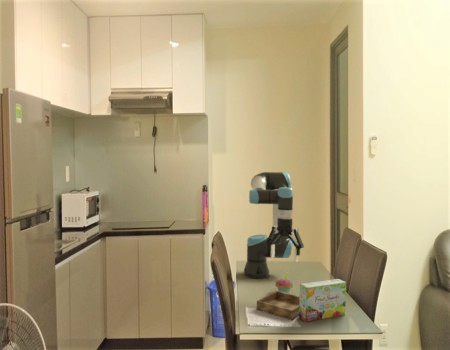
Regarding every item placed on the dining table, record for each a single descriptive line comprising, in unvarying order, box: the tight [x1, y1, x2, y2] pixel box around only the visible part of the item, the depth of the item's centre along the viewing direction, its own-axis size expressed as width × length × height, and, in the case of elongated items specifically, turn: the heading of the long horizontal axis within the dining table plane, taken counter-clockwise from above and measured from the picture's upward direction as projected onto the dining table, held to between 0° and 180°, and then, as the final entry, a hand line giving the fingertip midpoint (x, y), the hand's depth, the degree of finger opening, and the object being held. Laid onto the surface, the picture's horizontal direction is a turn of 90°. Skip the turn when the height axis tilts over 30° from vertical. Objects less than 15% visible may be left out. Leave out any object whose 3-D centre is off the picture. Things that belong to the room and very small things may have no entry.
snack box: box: [298, 278, 347, 323], centre depth 164 cm, size 21×6×15 cm, turn 114°
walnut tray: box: [256, 290, 300, 321], centre depth 173 cm, size 18×18×4 cm
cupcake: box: [275, 271, 293, 294], centre depth 193 cm, size 9×8×12 cm
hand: (284, 259), depth 192 cm, fingers open, 13 cm apart
